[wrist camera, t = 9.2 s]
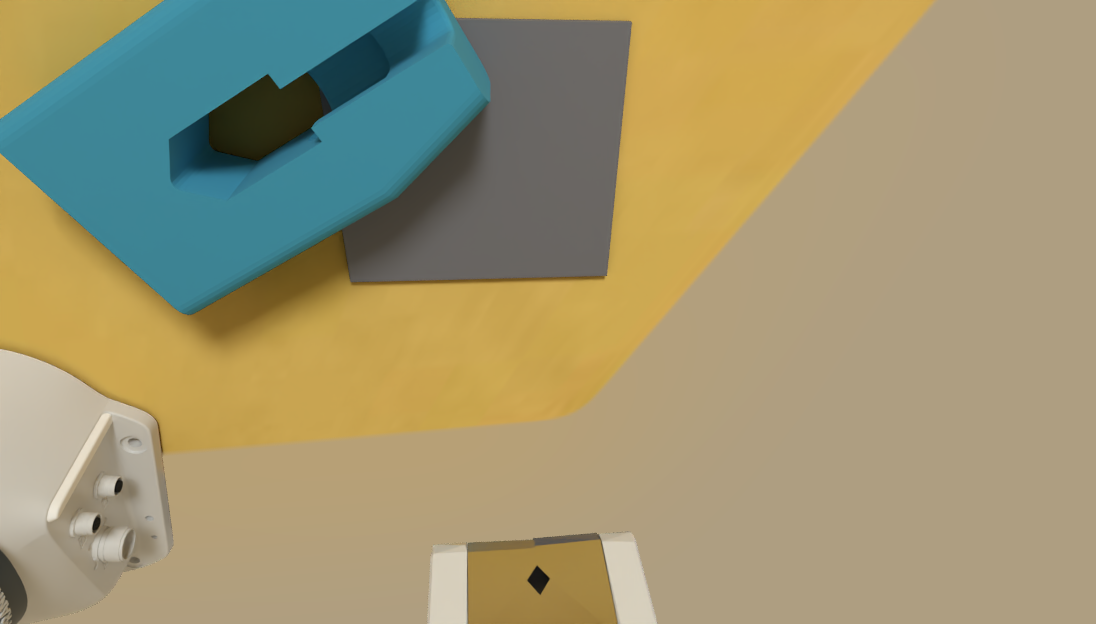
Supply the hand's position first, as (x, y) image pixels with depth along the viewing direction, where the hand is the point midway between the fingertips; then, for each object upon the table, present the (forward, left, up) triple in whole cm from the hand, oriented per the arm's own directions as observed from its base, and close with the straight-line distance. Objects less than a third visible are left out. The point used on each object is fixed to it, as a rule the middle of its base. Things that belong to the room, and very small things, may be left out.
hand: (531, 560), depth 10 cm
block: (+4, +2, -26) cm, 26 cm away
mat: (-5, +1, -29) cm, 29 cm away
